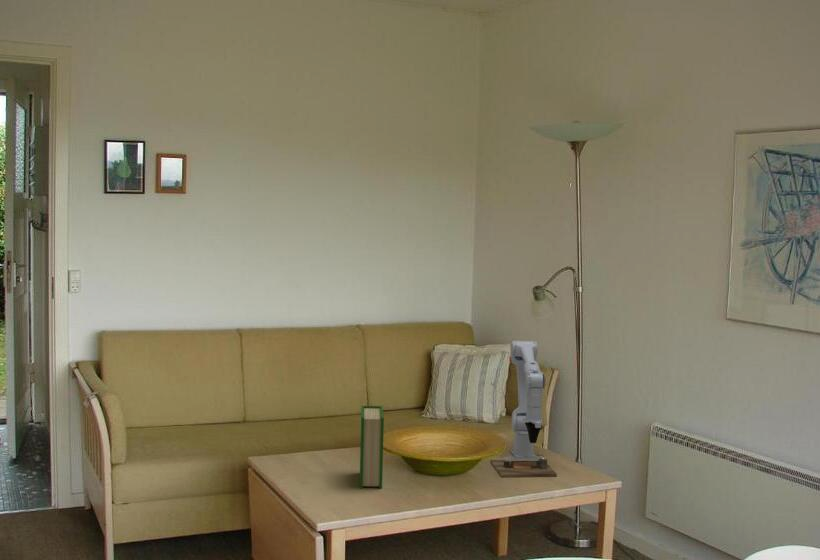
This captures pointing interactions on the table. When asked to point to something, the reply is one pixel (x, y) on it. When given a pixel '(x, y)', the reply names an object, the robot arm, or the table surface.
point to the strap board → (523, 468)
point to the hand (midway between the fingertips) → (532, 442)
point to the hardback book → (371, 446)
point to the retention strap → (524, 458)
